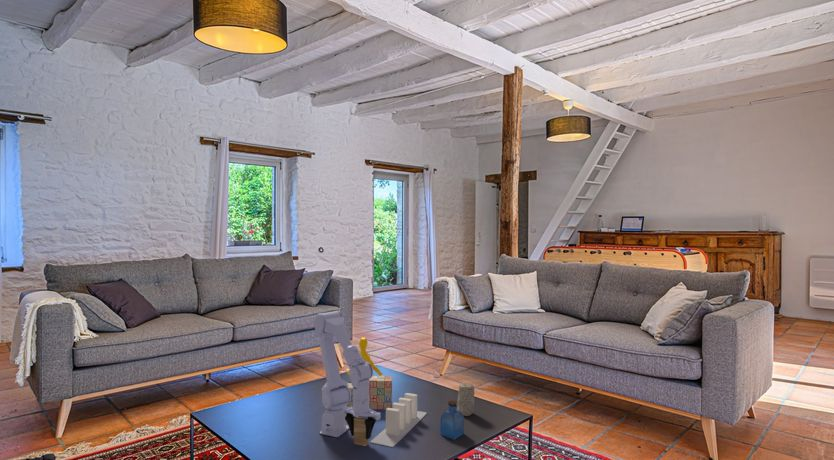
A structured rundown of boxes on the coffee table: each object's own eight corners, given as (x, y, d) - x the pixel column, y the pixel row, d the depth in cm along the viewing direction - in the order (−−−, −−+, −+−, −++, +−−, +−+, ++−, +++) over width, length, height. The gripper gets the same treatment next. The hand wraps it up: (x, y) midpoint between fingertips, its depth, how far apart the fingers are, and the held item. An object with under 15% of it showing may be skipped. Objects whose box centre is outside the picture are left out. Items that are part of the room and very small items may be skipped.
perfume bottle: (450, 429, 181) (450, 397, 181) (463, 433, 177) (464, 401, 177) (440, 434, 176) (440, 402, 176) (454, 439, 172) (454, 406, 172)
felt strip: (392, 447, 166) (392, 446, 166) (370, 442, 169) (370, 441, 169) (427, 413, 195) (427, 412, 195) (407, 409, 199) (407, 409, 199)
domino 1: (397, 435, 174) (397, 411, 174) (385, 433, 176) (385, 409, 176) (399, 433, 176) (399, 409, 176) (387, 431, 178) (387, 407, 178)
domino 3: (409, 424, 184) (409, 400, 184) (398, 422, 186) (398, 399, 186) (411, 422, 186) (411, 399, 186) (400, 420, 188) (400, 397, 188)
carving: (466, 418, 190) (467, 388, 190) (453, 412, 196) (453, 383, 196) (477, 414, 194) (478, 385, 194) (464, 408, 200) (464, 380, 200)
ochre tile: (365, 446, 167) (365, 420, 167) (353, 443, 169) (353, 418, 169) (368, 444, 168) (368, 418, 168) (356, 441, 170) (356, 416, 170)
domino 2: (403, 429, 179) (403, 406, 179) (392, 427, 181) (392, 404, 181) (405, 427, 181) (405, 404, 181) (394, 425, 183) (394, 402, 183)
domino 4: (415, 418, 189) (415, 396, 189) (404, 416, 191) (404, 394, 191) (417, 416, 191) (417, 394, 191) (406, 415, 193) (406, 392, 193)
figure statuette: (383, 379, 236) (383, 335, 236) (380, 385, 229) (380, 339, 228) (347, 378, 238) (347, 334, 237) (344, 384, 230) (344, 338, 230)
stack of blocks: (340, 409, 199) (340, 380, 199) (342, 404, 205) (342, 375, 205) (391, 409, 199) (391, 380, 199) (392, 404, 206) (392, 375, 205)
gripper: (337, 398, 167) (337, 437, 168) (373, 405, 162) (373, 445, 162) (347, 392, 174) (347, 429, 174) (383, 398, 168) (383, 436, 169)
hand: (361, 436), depth 169 cm, fingers open, 5 cm apart
